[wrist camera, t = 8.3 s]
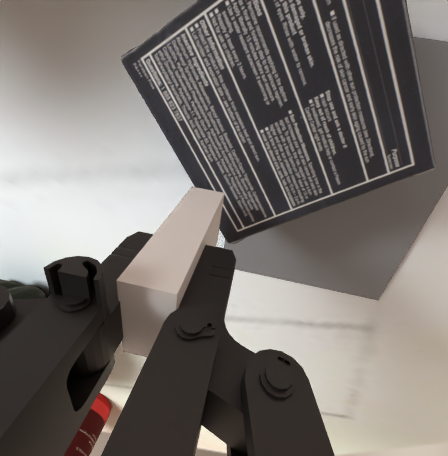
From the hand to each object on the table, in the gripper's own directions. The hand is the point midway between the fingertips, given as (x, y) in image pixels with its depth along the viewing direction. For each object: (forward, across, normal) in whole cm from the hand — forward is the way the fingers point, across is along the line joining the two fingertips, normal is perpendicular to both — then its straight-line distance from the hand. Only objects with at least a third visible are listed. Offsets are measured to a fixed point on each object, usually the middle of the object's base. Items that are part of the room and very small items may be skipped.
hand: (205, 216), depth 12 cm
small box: (+5, -2, +2) cm, 5 cm away
